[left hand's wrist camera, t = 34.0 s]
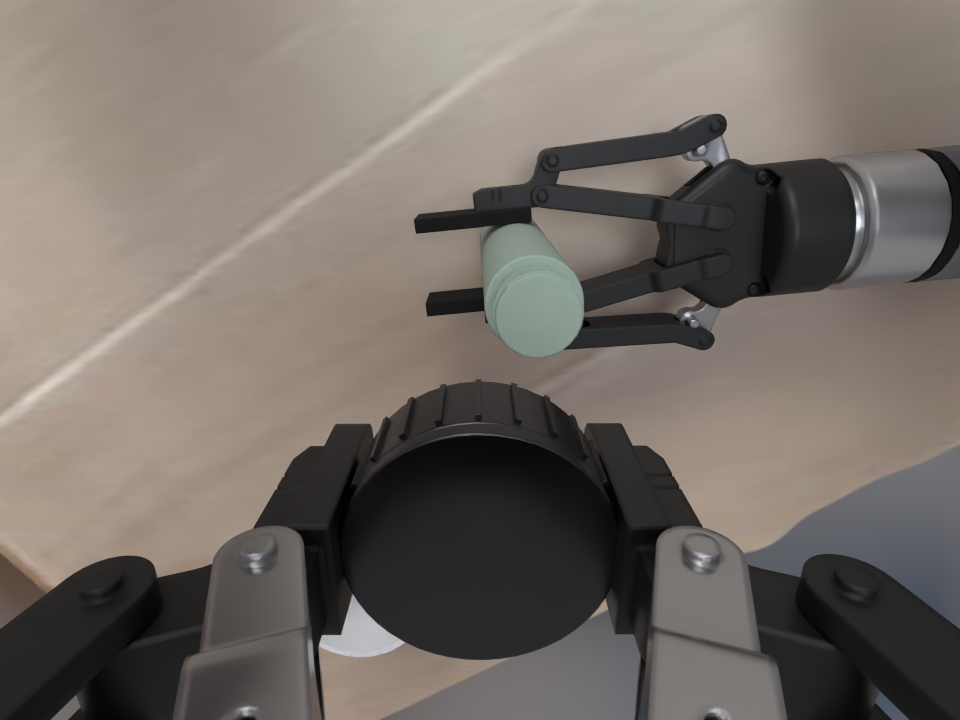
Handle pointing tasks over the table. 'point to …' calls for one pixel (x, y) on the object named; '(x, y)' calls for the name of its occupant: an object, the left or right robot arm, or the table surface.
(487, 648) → the lid
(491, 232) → the slim green bottle
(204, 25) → the table surface
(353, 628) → the mug
